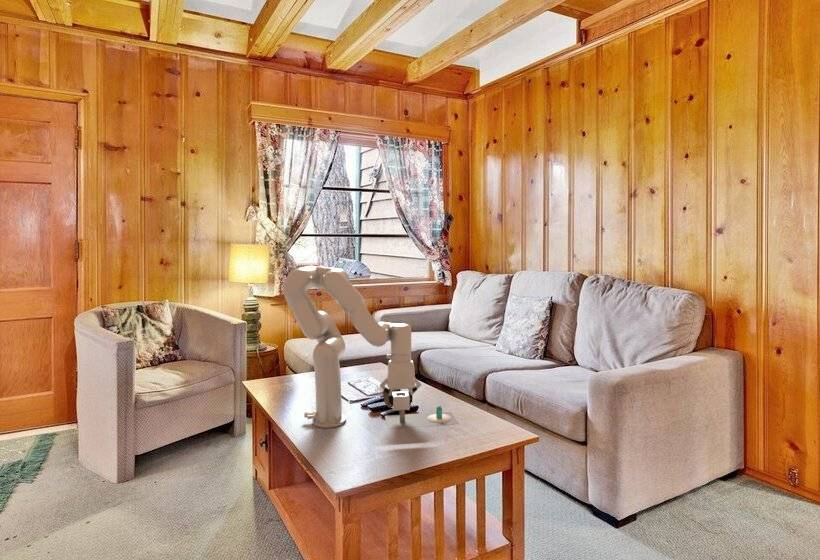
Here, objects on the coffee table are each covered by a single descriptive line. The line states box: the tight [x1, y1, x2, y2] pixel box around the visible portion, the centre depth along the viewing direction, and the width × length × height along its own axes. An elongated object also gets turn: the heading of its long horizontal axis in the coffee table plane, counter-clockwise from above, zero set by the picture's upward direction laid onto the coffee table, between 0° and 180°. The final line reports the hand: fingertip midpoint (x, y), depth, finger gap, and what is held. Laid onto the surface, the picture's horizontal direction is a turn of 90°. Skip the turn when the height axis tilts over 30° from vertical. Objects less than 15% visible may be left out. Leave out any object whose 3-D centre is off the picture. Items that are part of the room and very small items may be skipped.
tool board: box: [384, 405, 460, 430], centre depth 190 cm, size 26×13×6 cm, turn 98°
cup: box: [382, 389, 402, 409], centre depth 206 cm, size 8×7×8 cm
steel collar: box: [392, 391, 411, 411], centre depth 189 cm, size 6×6×5 cm
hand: (400, 404), depth 189 cm, fingers closed on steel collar, 6 cm apart
